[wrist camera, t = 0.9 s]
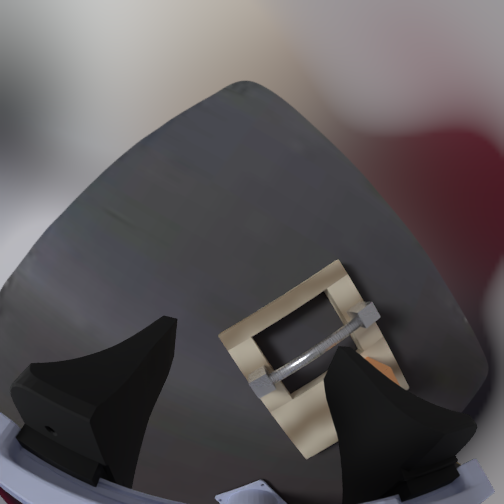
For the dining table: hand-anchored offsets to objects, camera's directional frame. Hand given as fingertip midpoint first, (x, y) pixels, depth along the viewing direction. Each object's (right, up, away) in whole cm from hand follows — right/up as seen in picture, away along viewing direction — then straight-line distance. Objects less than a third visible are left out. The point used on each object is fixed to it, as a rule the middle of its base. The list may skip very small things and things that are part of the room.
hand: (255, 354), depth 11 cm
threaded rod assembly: (+6, -6, +18) cm, 20 cm away
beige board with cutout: (+8, -9, +19) cm, 23 cm away
